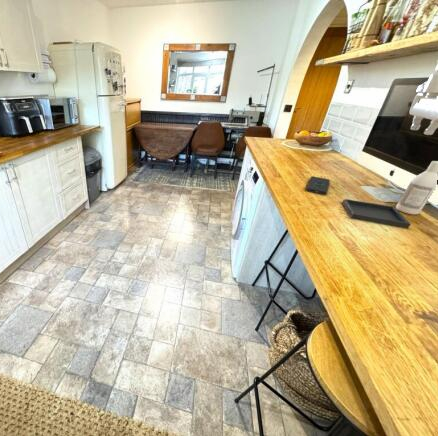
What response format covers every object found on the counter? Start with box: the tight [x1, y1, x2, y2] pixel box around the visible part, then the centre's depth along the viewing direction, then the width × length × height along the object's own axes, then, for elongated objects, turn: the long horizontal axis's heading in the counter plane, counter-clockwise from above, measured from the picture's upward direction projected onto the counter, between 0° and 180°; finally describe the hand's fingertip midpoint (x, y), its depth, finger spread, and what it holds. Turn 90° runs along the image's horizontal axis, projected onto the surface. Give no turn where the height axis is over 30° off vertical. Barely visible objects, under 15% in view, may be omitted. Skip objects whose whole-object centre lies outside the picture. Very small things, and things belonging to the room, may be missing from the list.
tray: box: [341, 198, 412, 229], centre depth 92 cm, size 17×15×2 cm
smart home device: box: [305, 175, 331, 196], centre depth 117 cm, size 8×2×20 cm
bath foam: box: [395, 160, 438, 215], centre depth 91 cm, size 7×7×20 cm
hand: (420, 132), depth 83 cm, fingers open, 8 cm apart
